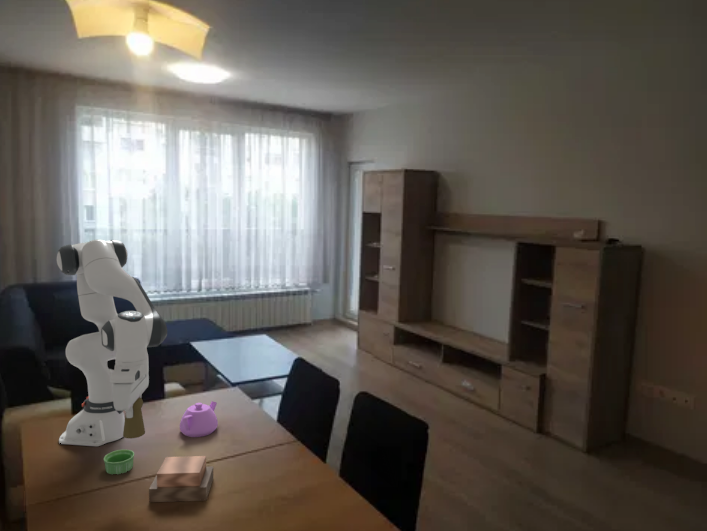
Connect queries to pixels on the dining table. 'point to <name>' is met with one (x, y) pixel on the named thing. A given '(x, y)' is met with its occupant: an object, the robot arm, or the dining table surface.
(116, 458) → the ramekin
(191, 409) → the teapot
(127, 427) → the cork
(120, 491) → the dining table surface
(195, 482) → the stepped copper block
